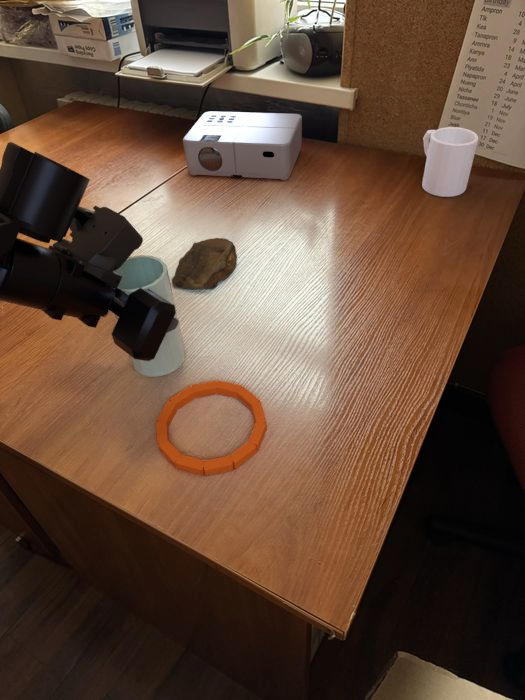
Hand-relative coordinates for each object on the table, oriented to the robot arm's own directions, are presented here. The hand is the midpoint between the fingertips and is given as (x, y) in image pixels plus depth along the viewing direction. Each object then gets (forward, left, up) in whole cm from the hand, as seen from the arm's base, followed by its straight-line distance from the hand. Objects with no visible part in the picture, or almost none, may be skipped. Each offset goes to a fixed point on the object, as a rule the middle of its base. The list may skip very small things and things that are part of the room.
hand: (157, 311), depth 60 cm
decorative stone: (+7, +19, -9) cm, 22 cm away
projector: (+21, +57, -9) cm, 62 cm away
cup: (-1, -1, -7) cm, 7 cm away
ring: (+4, -12, -9) cm, 15 cm away
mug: (+55, +36, -9) cm, 66 cm away
